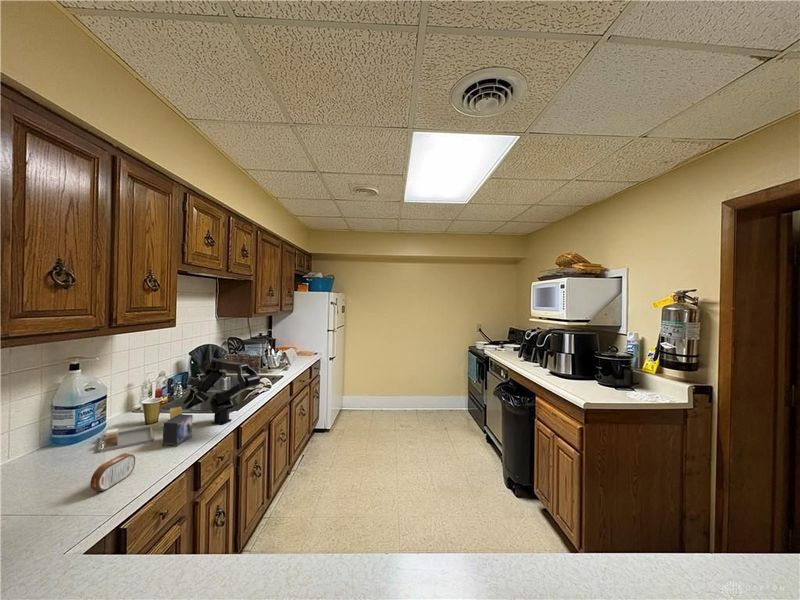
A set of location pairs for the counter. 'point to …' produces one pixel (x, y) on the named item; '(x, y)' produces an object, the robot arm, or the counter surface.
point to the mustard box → (175, 411)
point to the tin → (112, 472)
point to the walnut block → (111, 440)
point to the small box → (177, 430)
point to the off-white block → (112, 431)
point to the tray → (129, 438)
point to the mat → (162, 427)
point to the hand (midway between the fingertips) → (184, 405)
